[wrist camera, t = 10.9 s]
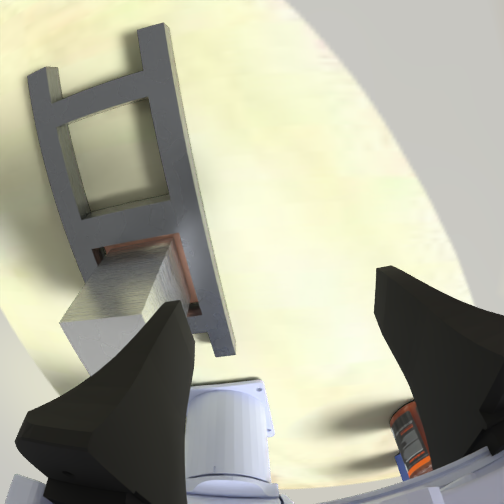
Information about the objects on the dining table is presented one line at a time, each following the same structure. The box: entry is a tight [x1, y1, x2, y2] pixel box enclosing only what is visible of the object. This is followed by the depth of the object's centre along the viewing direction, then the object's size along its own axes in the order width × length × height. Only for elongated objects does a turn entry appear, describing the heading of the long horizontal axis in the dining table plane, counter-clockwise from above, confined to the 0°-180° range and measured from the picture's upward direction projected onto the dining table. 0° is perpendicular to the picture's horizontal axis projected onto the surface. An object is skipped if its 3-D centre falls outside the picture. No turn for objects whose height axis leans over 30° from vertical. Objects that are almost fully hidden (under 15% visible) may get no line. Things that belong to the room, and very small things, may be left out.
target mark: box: [104, 233, 198, 303], centre depth 21 cm, size 5×5×1 cm
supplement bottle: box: [390, 401, 433, 479], centre depth 26 cm, size 6×6×11 cm
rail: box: [27, 23, 236, 357], centre depth 19 cm, size 22×9×2 cm, turn 9°
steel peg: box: [59, 237, 191, 376], centre depth 17 cm, size 4×4×8 cm
